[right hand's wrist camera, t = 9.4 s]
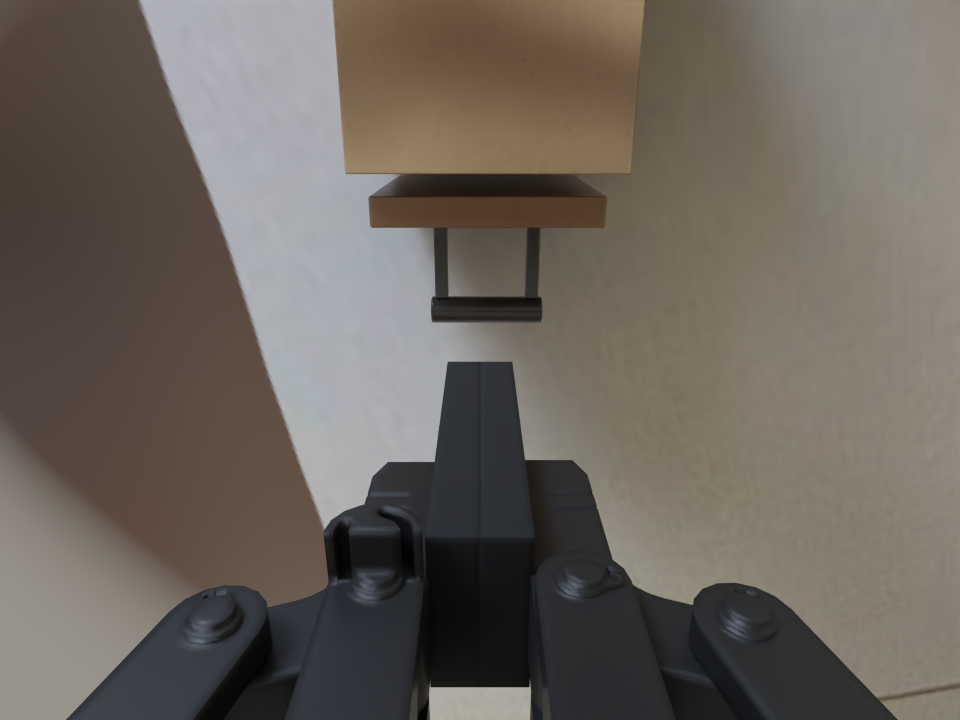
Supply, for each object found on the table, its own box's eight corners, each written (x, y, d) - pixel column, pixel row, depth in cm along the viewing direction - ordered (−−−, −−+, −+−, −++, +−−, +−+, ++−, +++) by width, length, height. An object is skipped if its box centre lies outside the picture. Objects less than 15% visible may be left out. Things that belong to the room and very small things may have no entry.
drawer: (569, 298, 35) (596, 356, 26) (403, 298, 35) (377, 355, 27) (596, -232, 27) (649, -395, 18) (380, -231, 27) (331, -393, 18)
